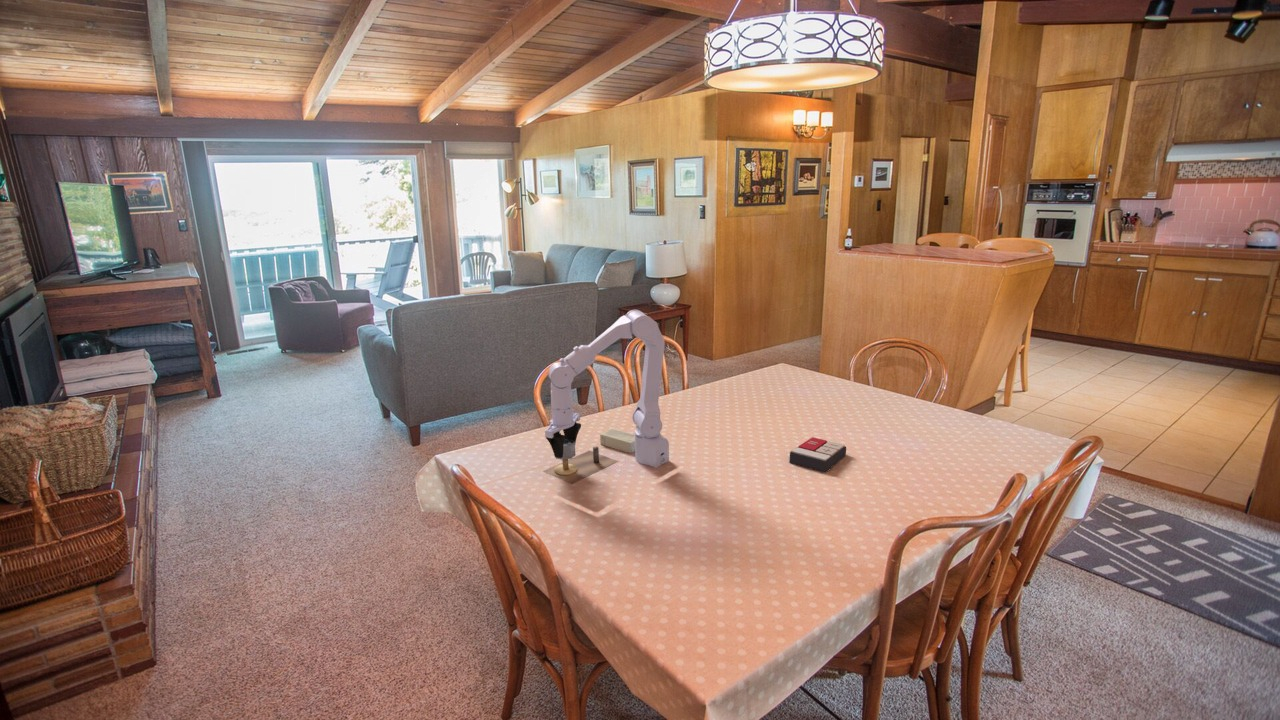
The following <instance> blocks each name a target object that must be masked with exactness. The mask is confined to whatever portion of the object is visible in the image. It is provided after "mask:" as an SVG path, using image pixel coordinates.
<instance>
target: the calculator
mask: <svg viewBox="0 0 1280 720" xmlns="http://www.w3.org/2000/svg"><path fill="white" fill-rule="evenodd" d="M846 455H847V446H846V445H845V444H842V443H838V442H835V441H828V440H825V439H822V438H817V437H810V438H809V439H807V440H806V441H804V442H803V443H801V444H800V445H798V446H797V447H796V448H794V449H792V450H790V452H789V459H788V460H789V461H788V463H789V464H791V465H795V466H799V467H801V468H805V469H809V470H812V469H813V470H812V471H816V472H820V473H823V472H825V473H824V474H826V473H827V472H829V471H830V470H831V469H832V468H833V466H835V465H836V464H837V463H839V462H840V461H841V460H842V459H843V458H844V457H846ZM838 461H839V462H838ZM829 469H830V470H829ZM828 470H829V471H828Z"/></svg>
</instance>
